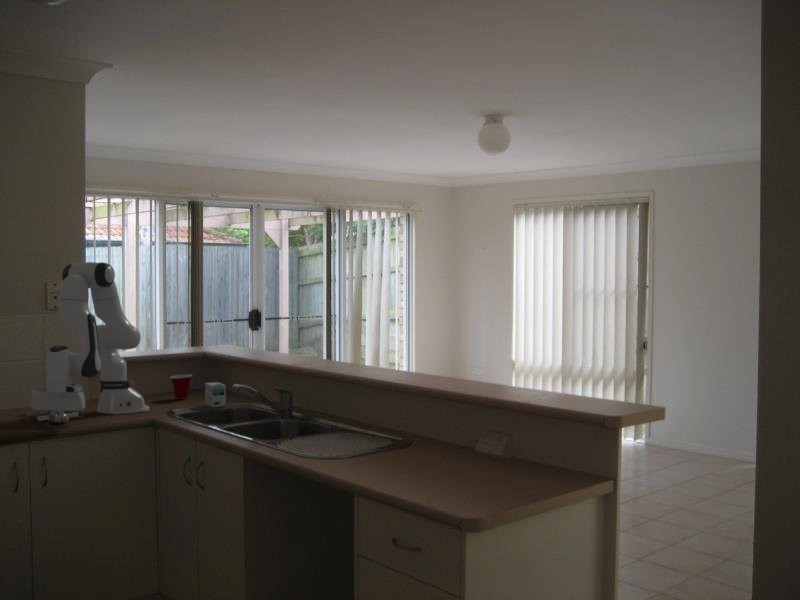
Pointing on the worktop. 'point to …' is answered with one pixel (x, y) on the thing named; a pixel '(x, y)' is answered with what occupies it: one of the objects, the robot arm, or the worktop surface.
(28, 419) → the level stand
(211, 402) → the light bulb box
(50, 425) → the pedestal
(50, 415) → the capstan
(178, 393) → the plastic cup
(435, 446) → the worktop surface
